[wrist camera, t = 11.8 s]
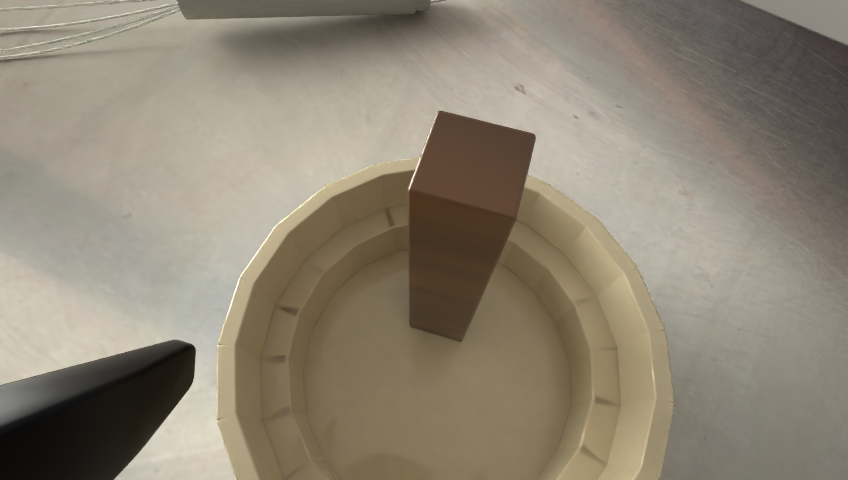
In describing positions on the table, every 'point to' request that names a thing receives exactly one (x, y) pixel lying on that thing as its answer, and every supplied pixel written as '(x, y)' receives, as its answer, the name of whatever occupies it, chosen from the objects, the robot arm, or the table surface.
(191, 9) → the kitchen whisk
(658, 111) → the table surface
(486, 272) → the stir stick
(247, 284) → the bowl
